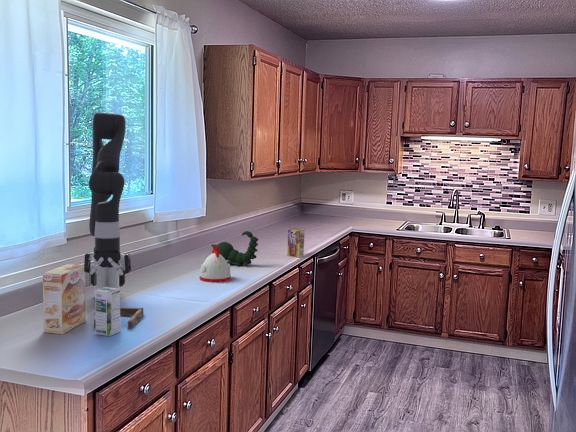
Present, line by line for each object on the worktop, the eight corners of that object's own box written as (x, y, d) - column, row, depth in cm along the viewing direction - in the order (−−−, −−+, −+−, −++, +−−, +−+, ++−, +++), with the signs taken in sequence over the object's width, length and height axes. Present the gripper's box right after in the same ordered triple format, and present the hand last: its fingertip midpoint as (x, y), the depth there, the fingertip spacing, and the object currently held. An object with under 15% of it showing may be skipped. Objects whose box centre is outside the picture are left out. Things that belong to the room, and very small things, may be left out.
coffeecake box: (63, 334, 190) (62, 274, 187) (42, 332, 191) (41, 272, 189) (86, 320, 204) (86, 264, 202) (67, 319, 206) (66, 263, 203)
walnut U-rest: (108, 313, 213) (108, 306, 213) (143, 314, 213) (143, 308, 213) (93, 327, 198) (93, 320, 197) (131, 328, 198) (131, 321, 197)
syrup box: (94, 334, 191) (94, 289, 189) (106, 329, 197) (106, 285, 195) (109, 336, 189) (109, 292, 187) (121, 331, 194) (120, 287, 193)
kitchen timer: (204, 283, 262) (205, 249, 260) (196, 276, 274) (196, 244, 272) (234, 281, 268) (235, 248, 266) (225, 274, 280) (225, 243, 278)
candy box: (304, 256, 329) (305, 229, 327) (299, 257, 325) (299, 229, 323) (292, 254, 334) (292, 227, 333) (286, 255, 331) (287, 228, 329)
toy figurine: (257, 268, 303) (214, 259, 312) (261, 231, 300) (217, 223, 309) (250, 272, 294) (205, 262, 303) (254, 234, 291) (208, 225, 300)
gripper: (133, 234, 192) (133, 283, 194) (88, 233, 193) (89, 282, 195) (126, 237, 185) (126, 289, 187) (80, 236, 185) (81, 288, 187)
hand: (107, 285), depth 191 cm, fingers open, 8 cm apart
